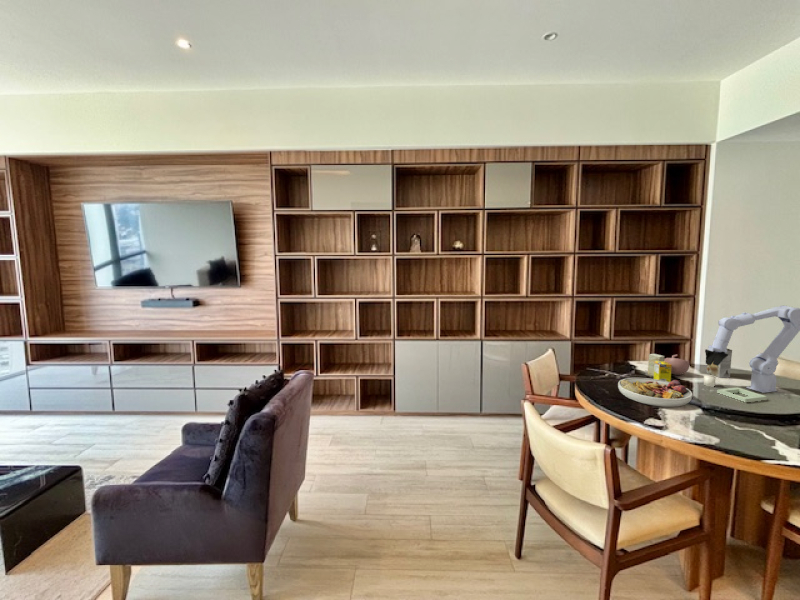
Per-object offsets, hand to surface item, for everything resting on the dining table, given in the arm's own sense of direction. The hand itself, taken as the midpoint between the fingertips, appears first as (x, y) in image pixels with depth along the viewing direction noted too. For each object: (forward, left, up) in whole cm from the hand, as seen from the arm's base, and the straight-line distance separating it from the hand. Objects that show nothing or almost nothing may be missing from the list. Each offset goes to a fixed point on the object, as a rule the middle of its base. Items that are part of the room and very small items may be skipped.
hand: (711, 364), depth 191 cm
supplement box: (+17, -13, -12) cm, 24 cm away
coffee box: (-22, -14, -12) cm, 29 cm away
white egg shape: (-1, -2, -12) cm, 12 cm away
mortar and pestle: (-2, -22, -12) cm, 25 cm away
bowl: (+39, +3, -12) cm, 41 cm away
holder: (0, +14, -12) cm, 19 cm away
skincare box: (+11, -23, -12) cm, 28 cm away
